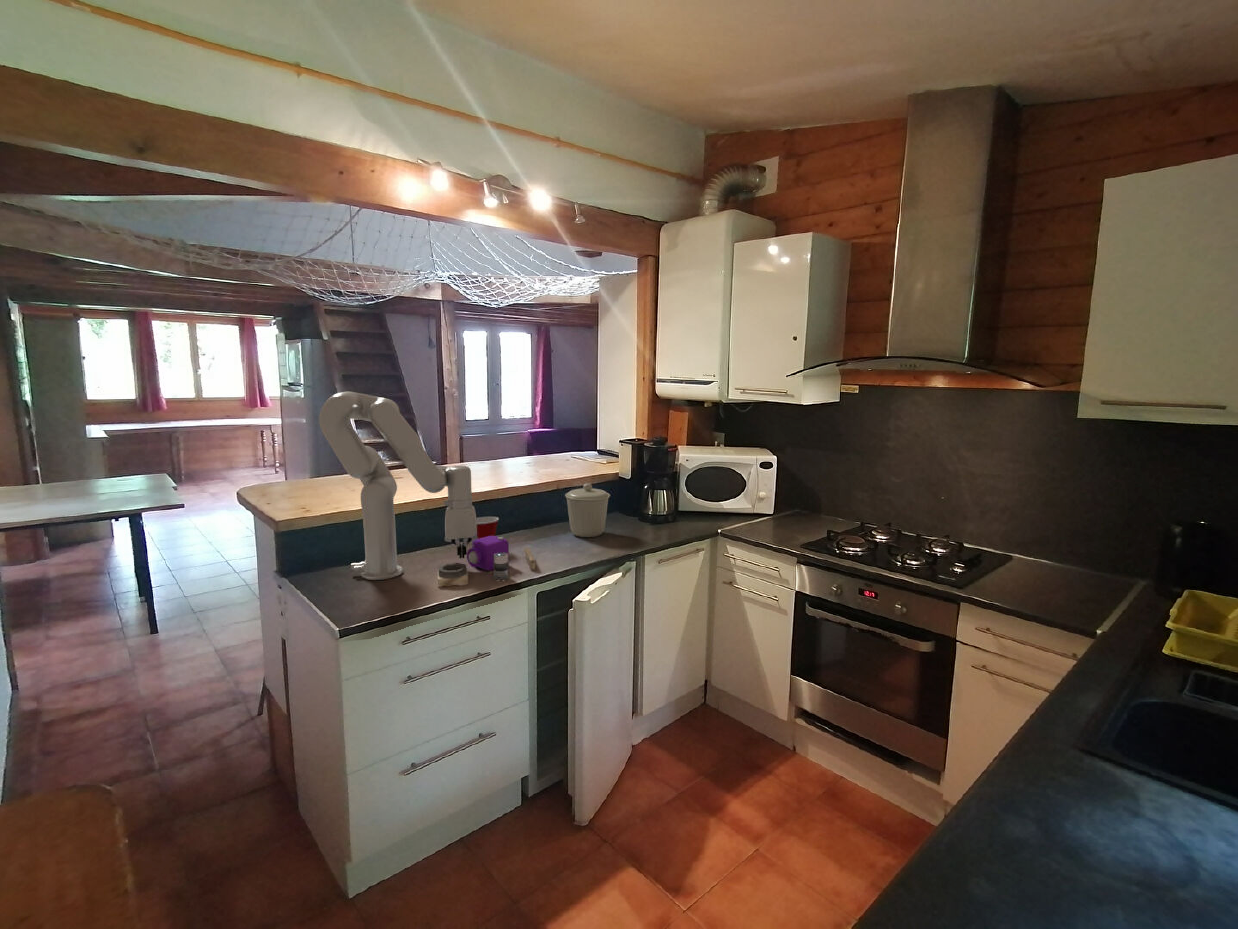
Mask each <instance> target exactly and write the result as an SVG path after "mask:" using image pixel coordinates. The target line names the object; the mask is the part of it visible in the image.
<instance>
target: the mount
mask: <svg viewBox="0 0 1238 929" xmlns="http://www.w3.org/2000/svg"><path fill="white" fill-rule="evenodd" d="M460 584H468V585H469V575H468V568H467V564H464V563H460V562H453V563H452V562H451V563H445V564H441V565H439V566H438V570H437V587H438V588H443V587H442V586H448V587H453V586H452V585H459V586H461V585H460Z"/></svg>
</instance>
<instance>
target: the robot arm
mask: <svg viewBox="0 0 1238 929" xmlns="http://www.w3.org/2000/svg"><path fill="white" fill-rule="evenodd" d="M351 419H355V420H361V421H366V422H371V423H372V424H373V426H374V427H375V428H376V429H377V430H378V432H379V433H380V434H381V436H382V437H383V438H384V439H385V441H386V442H387V443H388V444H389V445H390V446H391V448H392V449H393V450H394V451H395V453H396V454H397V456H398V458H399V459H400V460H401V462H402V463H403V464H404V466H405V467H406V469H407V471H408V472H409V473H410V474H411V476H412V477H413V479H415V480H416V482H417V483H418V484H419V485H420V487H421V488H422V489H424V491H426V492H428V493H431V494H437V493H440V492H441V491H443V490H444V488H446V487H447V500H443V506H447V507H446V509H445V515H444V516H445V517H444V532H445V533H444V534H445V535H444V541H445V542H449V543H452V544H454V545H455V546H456V554H457V555H456V556H459V559H465V556H467V546H468V545H469V543H471V542H473V541H474V540H476V539H478V536H477V521H476V518H477V514H476V509H475V507H474V505H473V501H472V500H473V494H472V471H471V468H470V467H469V466H466V465H453V466H445V465H437V464H435V463H434V462H433V461H432V459H431V458H430V457H429V455H428V454H427V452H426V451H425V448H424V447H423V443H422V441H421V438H420V437H419V435H418V433H417V432H416V431H415V430H414V428H412V426H411V425H410V424H409V423H408V421H407V420H406V419H405V418H404V416H403V415H402V413H401V412H400V407H399V406H398V404H397V403H396V402H395V401H394V400H393V399H390V398H385V397H379V396H376V395H375V396H374V395H370V394H364V393H360V392H359V393H358V392H354V391H342V392H337V393H334V394H332V395H331V396H330V397H328V399H326V401H325V402H324V403H323V405H322V407H321V409H320V411H319V417H318V420H319V421H318V422H319V427H320V430H321V432H322V434H323V436H324V437H325V439H326V441H327V442H328V444H329V446H330V447H331V448H332V451H333V453H335V455H336V457H337V459H338V460H339V462H340V463H341V465H342V466H343V468H344V470H345V472H346V473H347V474H348V475H349V476H350V477H352V478H353V479H359V481H360V482H361V483H362V486H363V487H362V488H361V491H360V505H361V512H362V522H363V537H364V554H365V556H364V557H365V559H364V561H361V562H352V563H351V564H350V569H351V570H353V571H354V572H355V571H360V576H361V578H363V579H364V580H370V581H371V580H372V581H378V580H379V581H380V580H388V579H393V578H395V577H398V576H399V575H401V574H402V573H403V567H402V566H400V565H399V564H398V555H397V554H398V553H397V552H398V551H397V534H396V529H397V528H396V516H395V514H396V513H395V505H394V498H395V496H396V493H397V491H398V485H397V482H396V479H395V477H394V476H393V475H392V473H391V470H390V469H389V468H388V466H387V465H386V462H384V460H383V458H382V457H381V455H380V454H379V453H378V451H377V450H376V449H375V448H373V447H371V446H368V445H365V444H364V442H363V441H362V440H361V437H360V436H359V434H358V433H357V431H356V430H355V429H354V427H353V426H352V425H351ZM461 539H463V541H462V543H461V542H460V540H461Z"/></svg>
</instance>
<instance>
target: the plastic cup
mask: <svg viewBox="0 0 1238 929" xmlns="http://www.w3.org/2000/svg"><path fill="white" fill-rule="evenodd" d="M499 520H500V519H499V517H497V516H482V517H476V521H477V536H478V539H480V538H484V537H488V536H496V534H497V526H498V522H499Z"/></svg>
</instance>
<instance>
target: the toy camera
mask: <svg viewBox="0 0 1238 929" xmlns="http://www.w3.org/2000/svg"><path fill="white" fill-rule="evenodd" d="M471 546H472V547H471V548H469V549H468V550H467V551H466V553H467V555H466V559H467V562H468V564H469V565H470V566H471V567H472V568H479V569H482V570H485V571H494V569H493V562H494V554H496V553H507V554H508V561H509V560H510V556H509V553H510V552H509V551H510V550H509V548H510V547H509V541H508V540H507V539H505V538H504V537H503V536H500V537H499V536H496V535H495V536H488V537H484V538H480V539H476V540H472V545H471Z"/></svg>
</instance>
